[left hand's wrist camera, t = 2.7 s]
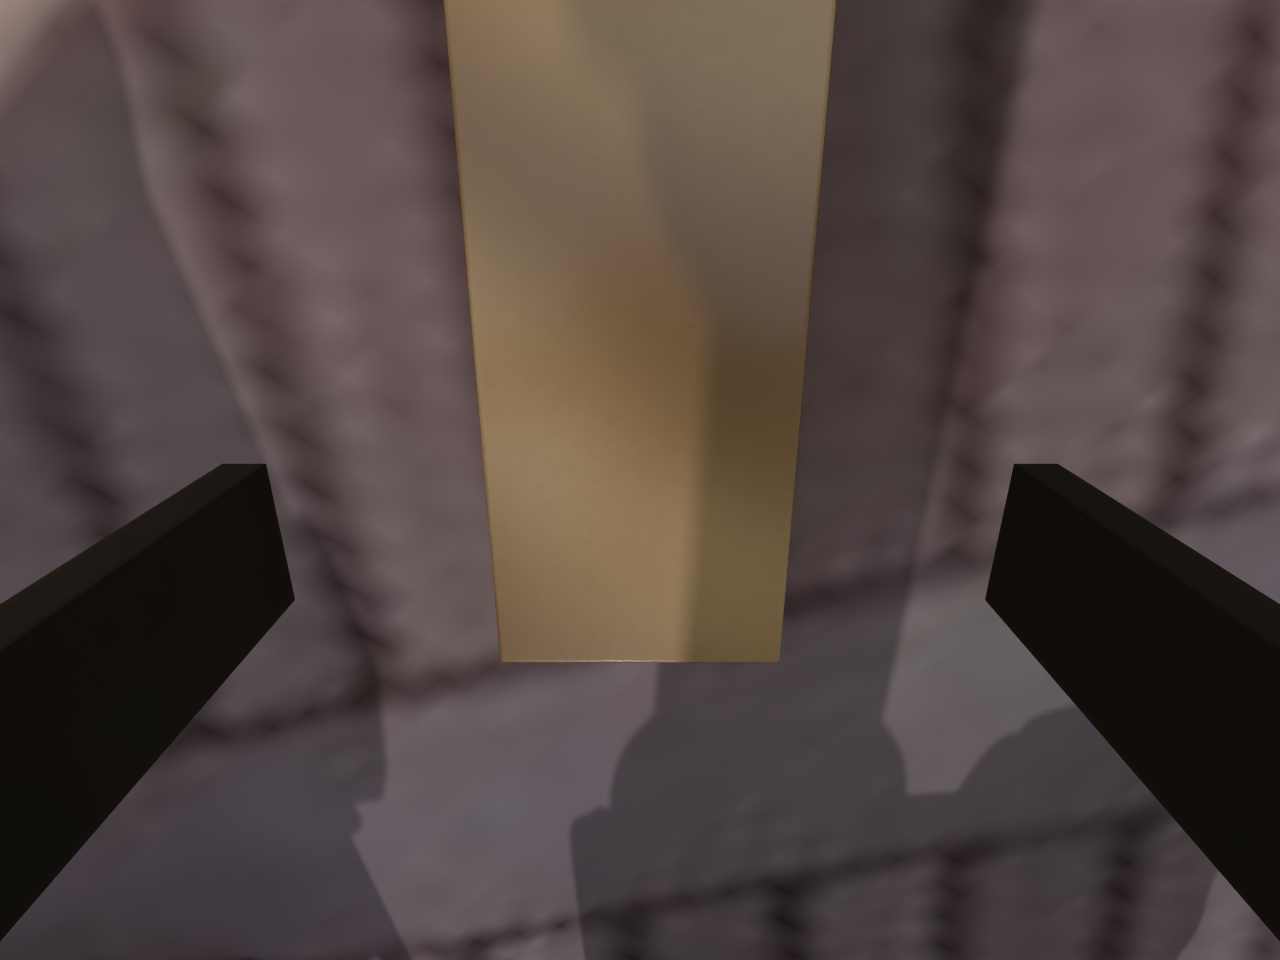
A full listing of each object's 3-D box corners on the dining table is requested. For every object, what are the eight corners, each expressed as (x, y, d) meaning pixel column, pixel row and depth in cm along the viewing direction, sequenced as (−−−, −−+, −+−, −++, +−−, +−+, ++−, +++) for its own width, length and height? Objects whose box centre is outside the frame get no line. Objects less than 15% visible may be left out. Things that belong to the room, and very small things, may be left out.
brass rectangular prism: (511, -247, 16) (379, -711, 8) (769, -247, 16) (900, -711, 8) (549, 504, 23) (499, 664, 15) (731, 504, 23) (780, 664, 15)
